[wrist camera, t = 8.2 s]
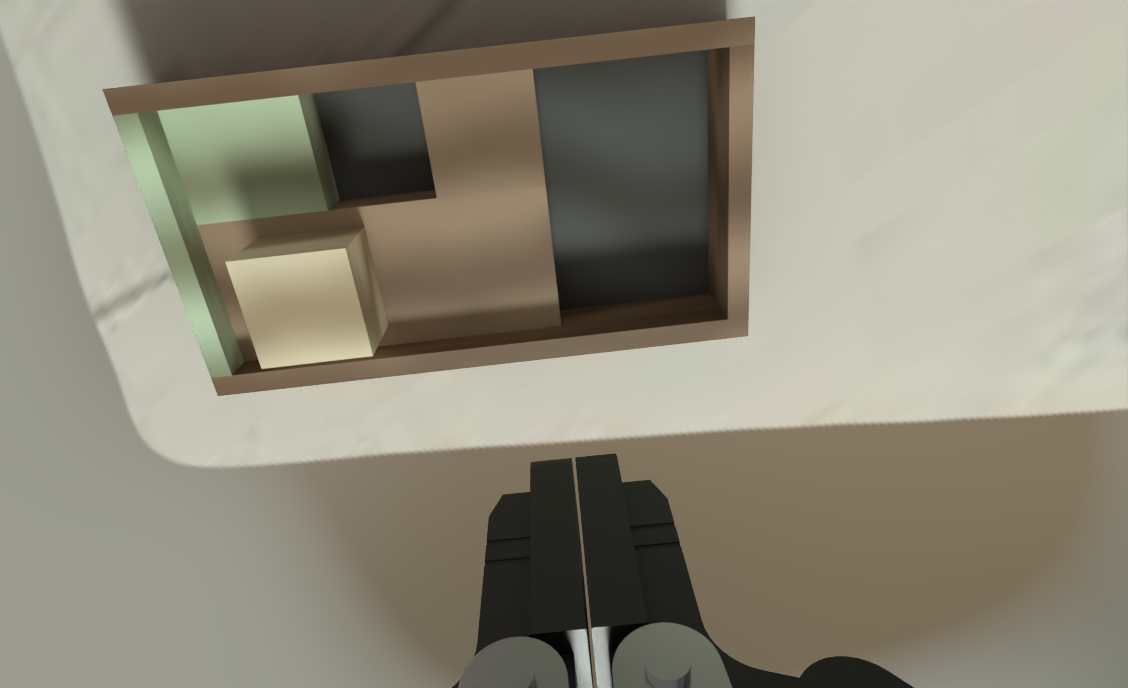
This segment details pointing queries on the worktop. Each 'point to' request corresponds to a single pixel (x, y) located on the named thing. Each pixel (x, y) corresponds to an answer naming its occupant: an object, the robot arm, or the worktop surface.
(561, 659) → the robot arm
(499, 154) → the channel
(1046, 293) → the worktop surface
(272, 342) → the birch block
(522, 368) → the worktop surface
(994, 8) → the worktop surface
